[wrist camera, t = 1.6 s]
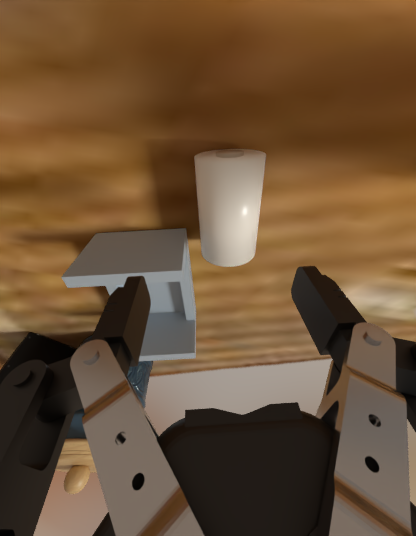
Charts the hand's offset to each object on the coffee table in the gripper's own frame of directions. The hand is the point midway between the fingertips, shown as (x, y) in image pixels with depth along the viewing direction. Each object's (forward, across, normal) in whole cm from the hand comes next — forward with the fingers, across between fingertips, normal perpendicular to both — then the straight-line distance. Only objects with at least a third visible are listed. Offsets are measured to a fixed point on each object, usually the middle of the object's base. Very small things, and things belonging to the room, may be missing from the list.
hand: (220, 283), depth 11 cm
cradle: (+13, +8, +10) cm, 18 cm away
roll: (+13, 0, 0) cm, 13 cm away
